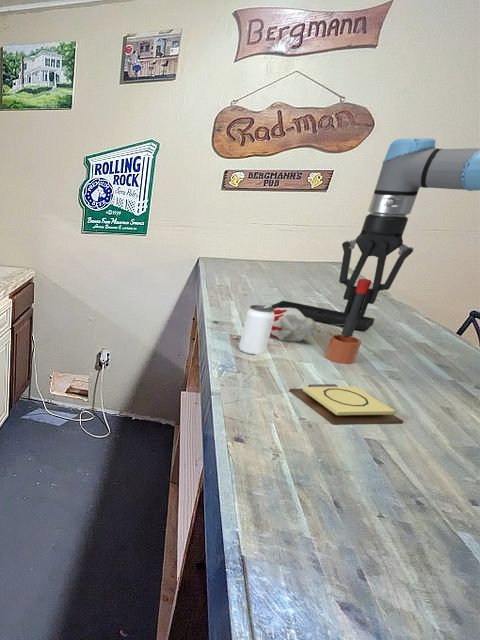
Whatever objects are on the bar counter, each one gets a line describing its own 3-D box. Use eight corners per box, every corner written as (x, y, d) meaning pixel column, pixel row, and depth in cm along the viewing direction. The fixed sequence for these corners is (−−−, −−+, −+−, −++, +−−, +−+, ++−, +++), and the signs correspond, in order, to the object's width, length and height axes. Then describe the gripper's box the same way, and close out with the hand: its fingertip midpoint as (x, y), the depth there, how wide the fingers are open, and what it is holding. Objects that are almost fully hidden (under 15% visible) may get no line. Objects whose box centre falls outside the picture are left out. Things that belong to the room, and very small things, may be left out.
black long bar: (379, 314, 146) (356, 332, 128) (376, 322, 148) (353, 342, 129) (289, 297, 164) (257, 311, 145) (287, 305, 165) (255, 320, 147)
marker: (354, 337, 114) (373, 280, 107) (347, 339, 113) (366, 282, 107) (344, 334, 116) (363, 278, 109) (338, 335, 115) (356, 279, 109)
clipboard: (402, 423, 89) (405, 416, 89) (333, 424, 89) (335, 417, 88) (350, 390, 102) (352, 383, 102) (289, 391, 102) (291, 384, 101)
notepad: (394, 414, 90) (395, 410, 90) (336, 415, 90) (338, 411, 89) (354, 389, 100) (355, 385, 99) (302, 390, 99) (303, 386, 99)
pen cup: (359, 365, 114) (367, 343, 112) (335, 365, 114) (342, 343, 112) (342, 355, 120) (349, 334, 118) (318, 356, 120) (325, 334, 117)
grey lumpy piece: (314, 345, 125) (252, 345, 130) (303, 331, 135) (246, 331, 140) (318, 314, 122) (255, 314, 127) (307, 302, 131) (249, 303, 137)
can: (233, 348, 124) (242, 306, 119) (248, 344, 127) (258, 303, 122) (254, 357, 119) (265, 313, 114) (270, 352, 122) (282, 309, 117)
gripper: (343, 213, 105) (314, 310, 114) (432, 219, 95) (391, 325, 105) (349, 210, 110) (320, 304, 119) (433, 216, 100) (395, 317, 110)
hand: (353, 314), depth 112 cm, fingers closed on marker, 2 cm apart
